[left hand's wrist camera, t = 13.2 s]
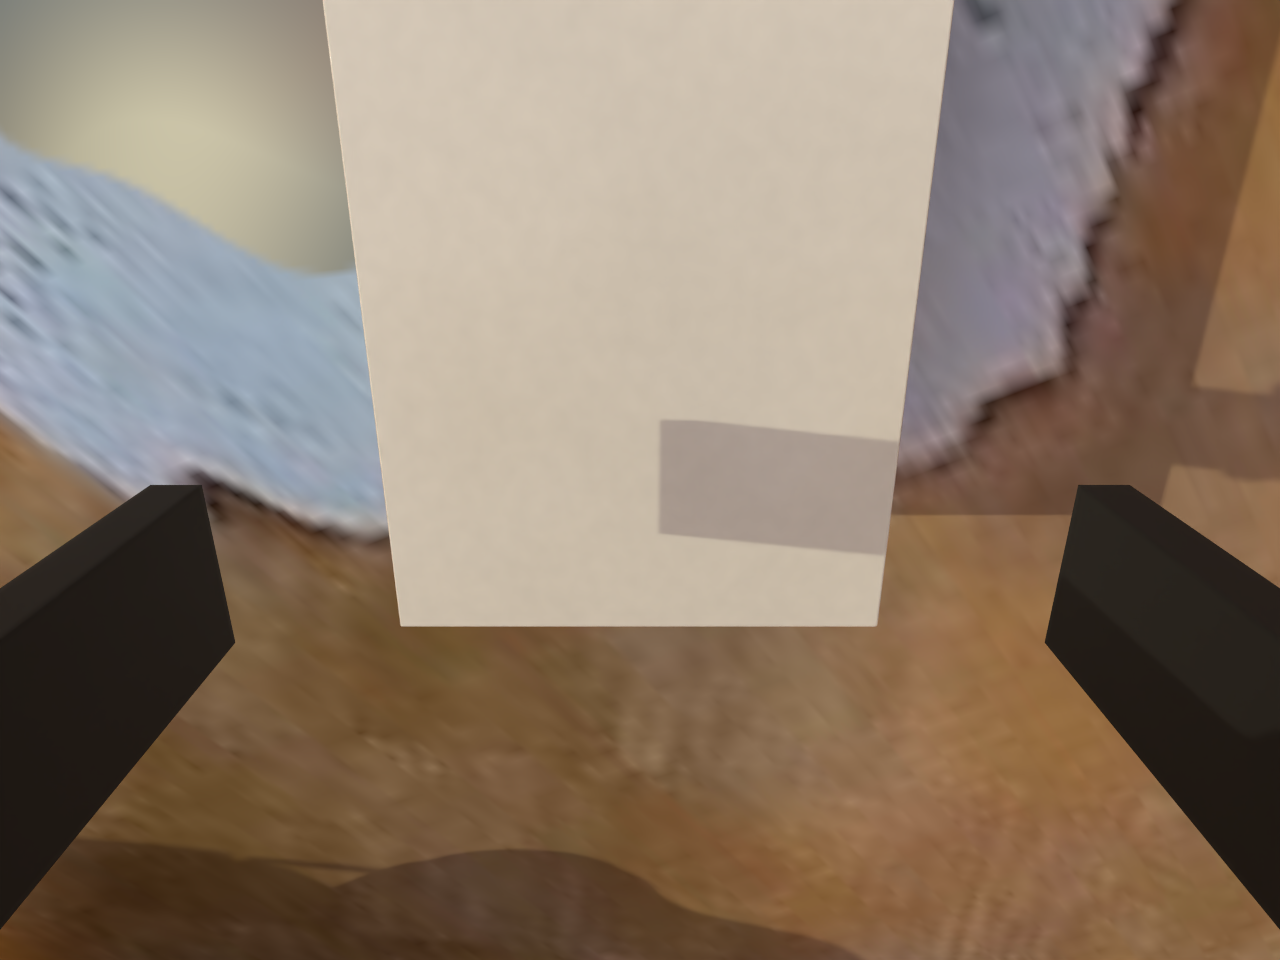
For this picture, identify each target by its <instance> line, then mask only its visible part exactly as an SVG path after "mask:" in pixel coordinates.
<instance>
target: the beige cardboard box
mask: <svg viewBox="0 0 1280 960" xmlns="http://www.w3.org/2000/svg"><path fill="white" fill-rule="evenodd" d="M323 7H324V15H325V23H326V31H327V39H328V47H329V55H330V63H331V71H332V79H333V86H334V95H335V103H336V111H337V119H338V127H339V135H340V143H341V151H342V159H343V167H344V175H345V183H346V191H347V199H348V207H349V215H350V223H351V231H352V239H353V247H354V255H355V263H356V271H357V279H358V287H359V295H360V303H361V312H362V320H363V328H364V336H365V344H366V352H367V360H368V368H369V376H370V384H371V392H372V400H373V408H374V416H375V424H376V432H377V440H378V448H379V456H380V464H381V472H382V480H383V488H384V496H385V504H386V512H387V520H388V528H389V536H390V544H391V552H392V560H393V568H394V576H395V584H396V592H397V600H398V608H399V617H400V624H401V626H877V623H878V615H879V607H880V598H881V590H882V582H883V574H884V566H885V558H886V550H887V542H888V534H889V526H890V518H891V509H892V501H893V493H894V485H895V477H896V469H897V461H898V453H899V445H900V437H901V428H902V420H903V412H904V404H905V396H906V388H907V380H908V372H909V364H910V356H911V348H912V339H913V331H914V323H915V315H916V307H917V299H918V291H919V283H920V275H921V267H922V258H923V250H924V242H925V234H926V226H927V218H928V210H929V202H930V194H931V186H932V178H933V169H934V161H935V153H936V145H937V137H938V129H939V121H940V113H941V105H942V97H943V88H944V80H945V72H946V64H947V56H948V48H949V40H950V32H951V24H952V16H953V8H954V0H323Z"/></svg>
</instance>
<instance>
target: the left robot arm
mask: <svg viewBox="0 0 1280 960" xmlns="http://www.w3.org/2000/svg"><path fill="white" fill-rule="evenodd" d="M234 643H235V639H234V634H233V630H232V625H231V620H230V616H229V611H228V606H227V602H226V597H225V592H224V588H223V583H222V578H221V574H220V569H219V564H218V560H217V555H216V550H215V546H214V541H213V536H212V532H211V527H210V522H209V517H208V513H207V508H206V503H205V499H204V494H203V489H202V485H150V486H148V487H147V488H146V489H144V490H143V491H141V492H140V493H138V494H137V495H135V496H134V497H132V498H131V499H130V500H128V501H127V502H125V503H124V504H122V505H121V506H119V507H118V508H116V509H115V510H114V511H112V512H111V513H109V514H108V515H106V516H105V517H103V518H102V519H100V520H99V521H98V522H96V523H95V524H93V525H92V526H90V527H89V528H87V529H86V530H84V531H83V532H82V533H80V534H79V535H77V536H76V537H74V538H73V539H71V540H70V541H68V542H67V543H66V544H64V545H63V546H61V547H60V548H58V549H57V550H55V551H54V552H52V553H51V554H50V555H48V556H47V557H45V558H44V559H42V560H41V561H39V562H38V563H36V564H35V565H34V566H32V567H31V568H29V569H28V570H26V571H25V572H23V573H22V574H20V575H19V576H18V577H16V578H15V579H13V580H12V581H10V582H9V583H7V584H6V585H4V586H3V587H2V588H0V929H1V928H2V927H3V925H4V924H5V923H6V922H7V921H8V919H9V918H10V917H11V916H12V914H13V913H14V912H15V911H16V910H17V908H18V907H19V906H20V905H21V903H22V902H23V901H24V900H25V899H26V897H27V896H28V895H29V894H30V892H31V891H32V890H33V889H34V888H35V886H36V885H37V884H38V883H39V881H40V880H41V879H42V878H43V877H44V875H45V874H46V873H47V872H48V870H49V869H50V868H51V867H52V866H53V864H54V863H55V862H56V861H57V859H58V858H59V857H60V856H61V855H62V853H63V852H64V851H65V850H66V848H67V847H68V846H69V845H70V844H71V842H72V841H73V840H74V839H75V837H76V836H77V835H78V834H79V833H80V831H81V830H82V829H83V828H84V827H85V825H86V824H87V823H88V822H89V820H90V819H91V818H92V817H93V816H94V814H95V813H96V812H97V811H98V809H99V808H100V807H101V806H102V805H103V803H104V802H105V801H106V800H107V798H108V797H109V796H110V795H111V794H112V792H113V791H114V790H115V789H116V787H117V786H118V785H119V784H120V783H121V781H122V780H123V779H124V778H125V776H126V775H127V774H128V773H129V772H130V770H131V769H132V768H133V767H134V765H135V764H136V763H137V762H138V761H139V759H140V758H141V757H142V756H143V754H144V753H145V752H146V751H147V750H148V748H149V747H150V746H151V745H152V744H153V742H154V741H155V740H156V739H157V737H158V736H159V735H160V734H161V733H162V731H163V730H164V729H165V728H166V726H167V725H168V724H169V723H170V722H171V720H172V719H173V718H174V717H175V715H176V714H177V713H178V712H179V711H180V709H181V708H182V707H183V706H184V704H185V703H186V702H187V701H188V700H189V698H190V697H191V696H192V695H193V693H194V692H195V691H196V690H197V689H198V687H199V686H200V685H201V684H202V682H203V681H204V680H205V679H206V678H207V676H208V675H209V674H210V673H211V671H212V670H213V669H214V668H215V667H216V665H217V664H218V663H219V662H220V661H221V659H222V658H223V657H224V656H225V654H226V653H227V652H228V651H229V650H230V648H231V647H232V646H233V645H234ZM1045 643H1046V645H1047V646H1048V647H1049V648H1050V650H1051V651H1052V652H1053V653H1054V654H1055V656H1056V657H1057V658H1058V659H1059V661H1060V662H1061V663H1062V664H1063V665H1064V667H1065V668H1066V669H1067V670H1068V671H1069V673H1070V674H1071V675H1072V676H1073V678H1074V679H1075V680H1076V681H1077V682H1078V684H1079V685H1080V686H1081V687H1082V689H1083V690H1084V691H1085V692H1086V693H1087V695H1088V696H1089V697H1090V698H1091V700H1092V701H1093V702H1094V703H1095V704H1096V706H1097V707H1098V708H1099V709H1100V711H1101V712H1102V713H1103V714H1104V715H1105V717H1106V718H1107V719H1108V720H1109V722H1110V723H1111V724H1112V725H1113V726H1114V728H1115V729H1116V730H1117V731H1118V733H1119V734H1120V735H1121V736H1122V737H1123V739H1124V740H1125V741H1126V742H1127V744H1128V745H1129V746H1130V747H1131V748H1132V750H1133V751H1134V752H1135V753H1136V754H1137V756H1138V757H1139V758H1140V759H1141V761H1142V762H1143V763H1144V764H1145V765H1146V767H1147V768H1148V769H1149V770H1150V772H1151V773H1152V774H1153V775H1154V776H1155V778H1156V779H1157V780H1158V781H1159V783H1160V784H1161V785H1162V786H1163V787H1164V789H1165V790H1166V791H1167V792H1168V794H1169V795H1170V796H1171V797H1172V798H1173V800H1174V801H1175V802H1176V803H1177V805H1178V806H1179V807H1180V808H1181V809H1182V811H1183V812H1184V813H1185V814H1186V816H1187V817H1188V818H1189V819H1190V820H1191V822H1192V823H1193V824H1194V825H1195V827H1196V828H1197V829H1198V830H1199V831H1200V833H1201V834H1202V835H1203V836H1204V838H1205V839H1206V840H1207V841H1208V842H1209V844H1210V845H1211V846H1212V847H1213V848H1214V850H1215V851H1216V852H1217V853H1218V855H1219V856H1220V857H1221V858H1222V859H1223V861H1224V862H1225V863H1226V864H1227V866H1228V867H1229V868H1230V869H1231V870H1232V872H1233V873H1234V874H1235V875H1236V877H1237V878H1238V879H1239V880H1240V881H1241V883H1242V884H1243V885H1244V886H1245V888H1246V889H1247V890H1248V891H1249V892H1250V894H1251V895H1252V896H1253V897H1254V899H1255V900H1256V901H1257V902H1258V903H1259V905H1260V906H1261V907H1262V908H1263V910H1264V911H1265V912H1266V913H1267V914H1268V916H1269V917H1270V918H1271V919H1272V921H1273V922H1274V923H1275V924H1276V925H1277V927H1278V928H1279V929H1280V588H1278V587H1277V586H1276V585H1274V584H1273V583H1271V582H1270V581H1268V580H1267V579H1265V578H1264V577H1262V576H1261V575H1260V574H1258V573H1257V572H1255V571H1254V570H1252V569H1251V568H1249V567H1248V566H1246V565H1245V564H1244V563H1242V562H1241V561H1239V560H1238V559H1236V558H1235V557H1233V556H1232V555H1230V554H1229V553H1228V552H1226V551H1225V550H1223V549H1222V548H1220V547H1219V546H1217V545H1216V544H1214V543H1213V542H1212V541H1210V540H1209V539H1207V538H1206V537H1204V536H1203V535H1201V534H1200V533H1198V532H1197V531H1196V530H1194V529H1193V528H1191V527H1190V526H1188V525H1187V524H1185V523H1184V522H1182V521H1181V520H1180V519H1178V518H1177V517H1175V516H1174V515H1172V514H1171V513H1169V512H1168V511H1166V510H1165V509H1164V508H1162V507H1161V506H1159V505H1158V504H1156V503H1155V502H1153V501H1152V500H1150V499H1149V498H1148V497H1146V496H1145V495H1143V494H1142V493H1140V492H1139V491H1137V490H1136V489H1134V488H1133V487H1132V486H1130V485H1078V489H1077V494H1076V499H1075V503H1074V508H1073V513H1072V517H1071V522H1070V527H1069V532H1068V536H1067V541H1066V546H1065V550H1064V555H1063V560H1062V564H1061V569H1060V574H1059V578H1058V583H1057V588H1056V592H1055V597H1054V602H1053V606H1052V611H1051V616H1050V620H1049V625H1048V630H1047V634H1046V639H1045Z"/></svg>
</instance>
